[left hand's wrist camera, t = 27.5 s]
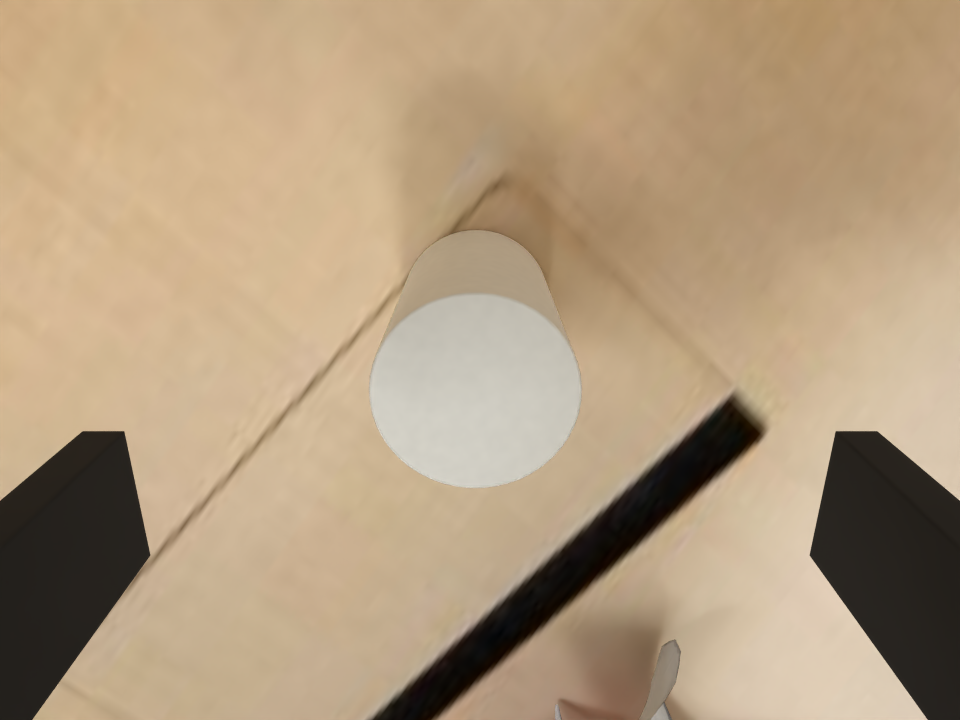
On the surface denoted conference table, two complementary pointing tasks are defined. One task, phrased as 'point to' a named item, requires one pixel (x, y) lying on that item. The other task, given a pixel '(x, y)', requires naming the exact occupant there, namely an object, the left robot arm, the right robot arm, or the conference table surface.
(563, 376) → the canister
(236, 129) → the conference table surface
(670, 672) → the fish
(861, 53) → the conference table surface
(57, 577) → the left robot arm
